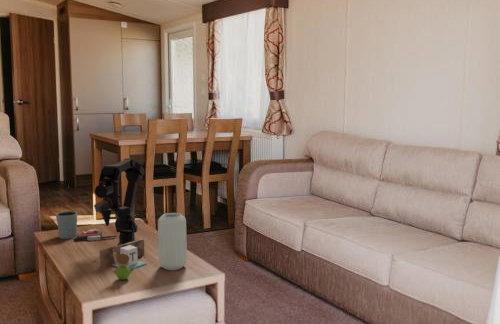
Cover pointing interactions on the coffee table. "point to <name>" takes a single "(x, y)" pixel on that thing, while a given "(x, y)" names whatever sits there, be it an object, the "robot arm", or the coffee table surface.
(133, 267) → the teal mat
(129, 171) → the robot arm
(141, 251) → the walnut screen
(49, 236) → the coffee table surface
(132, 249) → the white rectangular block
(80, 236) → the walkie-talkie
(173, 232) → the vase
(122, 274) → the snail figurine
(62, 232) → the grey-blue cup
